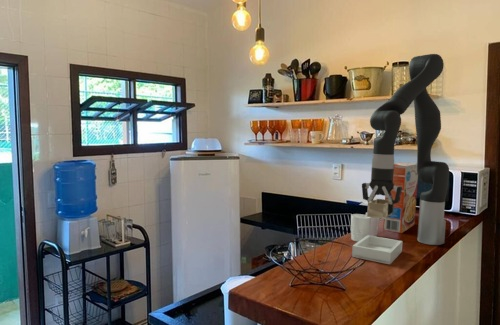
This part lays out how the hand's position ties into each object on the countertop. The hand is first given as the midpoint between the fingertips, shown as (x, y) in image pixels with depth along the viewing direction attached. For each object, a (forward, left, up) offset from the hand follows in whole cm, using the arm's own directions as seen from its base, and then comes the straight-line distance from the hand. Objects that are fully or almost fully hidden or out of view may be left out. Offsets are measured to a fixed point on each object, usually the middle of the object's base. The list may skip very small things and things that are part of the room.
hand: (380, 213), depth 141 cm
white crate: (0, 0, -15) cm, 15 cm away
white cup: (-2, -18, -15) cm, 24 cm away
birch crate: (0, 0, -1) cm, 1 cm away
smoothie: (-11, -24, -15) cm, 31 cm away
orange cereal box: (-33, -37, -15) cm, 52 cm away
